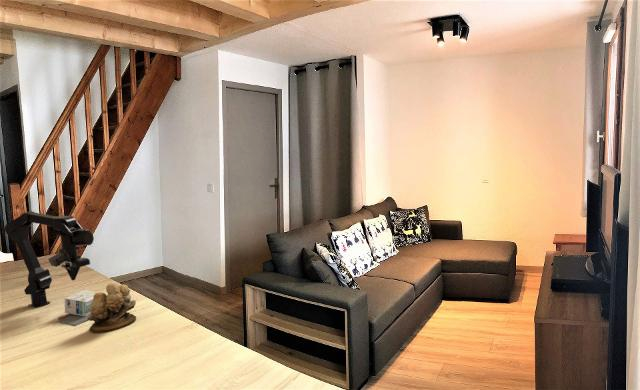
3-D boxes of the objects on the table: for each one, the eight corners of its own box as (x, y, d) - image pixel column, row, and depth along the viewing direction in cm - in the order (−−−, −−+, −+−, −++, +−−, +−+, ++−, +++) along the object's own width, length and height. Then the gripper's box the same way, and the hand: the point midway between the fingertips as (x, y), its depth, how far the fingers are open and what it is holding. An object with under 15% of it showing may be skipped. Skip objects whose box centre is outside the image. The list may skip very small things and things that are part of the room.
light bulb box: (64, 313, 185) (85, 317, 182) (63, 297, 184) (85, 301, 181) (83, 303, 195) (104, 307, 192) (83, 289, 194) (104, 292, 191)
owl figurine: (131, 314, 185) (127, 274, 182) (143, 321, 176) (140, 280, 174) (84, 328, 172) (80, 285, 170) (95, 337, 164) (91, 292, 162)
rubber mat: (58, 321, 180) (57, 320, 180) (98, 306, 195) (98, 305, 195) (75, 325, 174) (75, 324, 174) (115, 309, 190) (114, 308, 190)
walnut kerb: (58, 320, 181) (57, 317, 181) (93, 306, 195) (93, 304, 195) (59, 320, 181) (59, 318, 181) (95, 306, 195) (95, 304, 195)
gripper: (38, 248, 192) (42, 283, 194) (63, 251, 182) (67, 288, 184) (63, 242, 201) (68, 275, 203) (88, 245, 192) (92, 280, 194)
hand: (73, 280), depth 196 cm, fingers closed
